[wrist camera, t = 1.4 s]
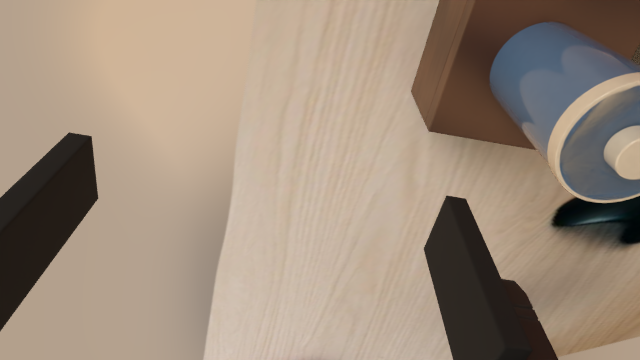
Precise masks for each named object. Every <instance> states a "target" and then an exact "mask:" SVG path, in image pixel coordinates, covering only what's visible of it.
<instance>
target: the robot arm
mask: <svg viewBox="0 0 640 360" xmlns="http://www.w3.org/2000/svg"><path fill="white" fill-rule="evenodd" d="M97 199H98V193H97V184H96V174H95V165H94V156H93V146H92V137H91V136H87V135H81V134H74V133H68V134H67V135H66V136H65V137H64V138H63V139H62V140H61V141H60V142H59V143H58V144H56V145H55V146H54V147H53V148H52V149H51V150H50V151H49V152H48V153H47V154H46V155H45V156H44V157H43V158H42V159H41V160H40V161H39V162H37V163H36V164H35V165H34V166H33V167H32V168H31V169H30V170H29V171H28V172H27V173H26V174H25V175H24V176H23V177H22V178H21V179H20V180H19V181H17V182H16V183H15V184H14V185H13V186H12V187H11V188H10V189H9V190H8V191H7V192H6V193H5V194H4V195H3V196H2V197H1V198H0V331H1V329H2V328H3V327H4V325H5V324H6V322H7V321H8V320H9V319H10V317H11V316H12V314H13V313H14V312H15V310H16V309H17V308H18V306H19V305H20V304H21V302H22V301H23V299H24V298H25V297H26V296H27V294H28V293H29V291H30V290H31V289H32V287H33V286H34V285H35V283H36V282H37V281H38V279H39V278H40V276H41V275H42V274H43V272H44V271H45V270H46V268H47V267H48V266H49V264H50V263H51V262H52V260H53V259H54V258H55V256H56V255H57V253H58V252H59V251H60V249H61V248H62V246H63V245H64V244H65V243H66V241H67V240H68V238H69V237H70V236H71V234H72V233H73V232H74V230H75V229H76V228H77V226H78V225H79V224H80V222H81V221H82V220H83V218H84V217H85V215H86V214H87V213H88V211H89V210H90V209H91V207H92V206H93V205H94V203H95V202H96V201H97ZM424 252H425V255H426V259H427V263H428V267H429V270H430V274H431V278H432V282H433V285H434V289H435V293H436V296H437V300H438V304H439V308H440V311H441V315H442V319H443V323H444V326H445V330H446V334H447V338H448V341H449V345H450V349H451V353H452V356H453V360H558V358H557V356H556V354H555V352H554V350H553V348H552V346H551V344H550V342H549V340H548V338H547V336H546V333H545V331H544V329H543V327H542V325H541V323H540V321H538V317H537V315H536V313H535V311H534V310H533V309H532V308H533V307H532V305H531V303H530V301H529V299H528V297H527V295H526V293H525V292H524V291H523V290H522V289H521V288H520V287H519V285H518V284H517V283H516V282H515V281H511V280H505V279H501V277H500V275H499V273H498V270H497V268H496V266H495V264H494V261H493V259H492V257H491V255H490V252H489V250H488V248H487V246H486V243H485V241H484V239H483V237H482V234H481V232H480V230H479V228H478V225H477V223H476V221H475V219H474V216H473V214H472V212H471V210H470V207H469V205H468V203H467V201H466V199H464V198H458V197H452V196H446V198H445V200H444V203H443V205H442V207H441V210H440V212H439V214H438V217H437V219H436V221H435V224H434V226H433V228H432V231H431V233H430V235H429V238H428V240H427V242H426V245H425V247H424Z"/></svg>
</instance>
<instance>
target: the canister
mask: <svg viewBox="0 0 640 360" xmlns="http://www.w3.org/2000/svg"><path fill="white" fill-rule="evenodd" d="M490 88H491V92H492V94H493V96H494V98H495V99H496V101H497V102H498V103H499V105H500V106H501V107H502V108H503V109H504V111H505V112H506V113H507V114H508V116H509V117H510V118H511V119H512V120H513V122H514V123H515V124H516V125H517V126H518V128H519V129H520V130H521V131H522V133H523V134H524V135H525V136H526V137H527V139H528V140H529V141H530V142H531V143H532V145H533V146H534V147H535V148H536V150H537V151H538V152H539V153H540V154H541V156H542V157H543V158H544V159H545V161H546V162H547V163H548V164H549V167H550V169H551V171H552V173H553V174H554V176H555V177H556V179H557V180H558V181H559V182H560V184H561V185H562V186H563V187H564V188H565V189H566V190H567V191H568V192H569V193H571V194H572V195H574V196H576V197H578V198H580V199H583V200H586V201H591V202H598V203H611V202H619V201H624V200H628V199H631V198H634V197H638V196H640V64H638V63H636V62H634V61H633V60H631V59H629V58H627V57H625V56H623V55H622V54H620V53H618V52H616V51H614V50H613V49H611V48H609V47H607V46H605V45H604V44H602V43H600V42H598V41H596V40H594V39H593V38H591V37H589V36H587V35H585V34H584V33H582V32H580V31H578V30H576V29H575V28H573V27H571V26H569V25H566V24H563V23H559V22H544V23H538V24H535V25H532V26H530V27H527V28H525V29H523V30H521V31H520V32H518V33H517V34H515V35H514V36H513V37H511V38H510V39H509V40H508V41H507V42H506V43H505V44H504V45H503V47H502V48H501V49H500V51H499V52H498V54H497V55H496V57H495V59H494V62H493V64H492V67H491V71H490Z"/></svg>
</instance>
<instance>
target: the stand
mask: <svg viewBox="0 0 640 360" xmlns="http://www.w3.org/2000/svg"><path fill="white" fill-rule="evenodd" d="M544 22H559V23H563V24H566V25H569V26H571V27H573V28H575V29H576V30H578V31H580V32H582V33H584V34H585V35H587V36H589V37H591V38H593V39H594V40H596V41H598V42H600V43H602V44H604V45H605V46H607V47H609V48H611V49H613V50H614V51H616V52H618V53H620V54H622V55H623V56H625V57H627V58H629V59H631V58H632V57H633V55H634V53H635V51H636V50H637V48H638V46H639V44H640V0H440V1H439V4H438V7H437V10H436V14H435V17H434V20H433V23H432V26H431V30H430V33H429V36H428V39H427V42H426V45H425V49H424V52H423V55H422V58H421V61H420V64H419V68H418V71H417V74H416V77H415V80H414V83H413V87H412V90H411V92H412V95H413V97H414V99H415V102H416V104H417V106H418V108H419V111H420V113H421V115H422V118H423V120H424V122H425V124H426V126H427V129H428V131H430V132H436V133H441V134H447V135H453V136H459V137H465V138H471V139H476V140H482V141H488V142H494V143H500V144H505V145H511V146H517V147H523V148H529V149H534V150H536V148H535V147H534V146H533V145H532V143H531V142H530V141H529V140H528V139H527V137H526V136H525V135H524V134H523V133H522V131H521V130H520V129H519V128H518V126H517V125H516V124H515V123H514V122H513V120H512V119H511V118H510V117H509V116H508V114H507V113H506V112H505V111H504V109H503V108H502V107H501V106H500V105H499V103H498V102H497V101H496V99H495V98H494V96H493V94H492V92H491V88H490V71H491V67H492V64H493V62H494V59H495V57H496V55H497V54H498V52H499V51H500V49H501V48H502V47H503V45H504V44H505V43H506V42H507V41H508V40H509V39H510V38H511V37H513V36H514V35H515V34H517V33H518V32H520V31H521V30H523V29H525V28H527V27H530V26H532V25H535V24H538V23H544Z"/></svg>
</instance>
